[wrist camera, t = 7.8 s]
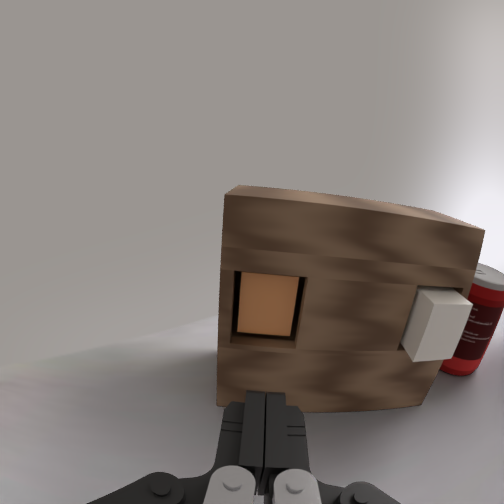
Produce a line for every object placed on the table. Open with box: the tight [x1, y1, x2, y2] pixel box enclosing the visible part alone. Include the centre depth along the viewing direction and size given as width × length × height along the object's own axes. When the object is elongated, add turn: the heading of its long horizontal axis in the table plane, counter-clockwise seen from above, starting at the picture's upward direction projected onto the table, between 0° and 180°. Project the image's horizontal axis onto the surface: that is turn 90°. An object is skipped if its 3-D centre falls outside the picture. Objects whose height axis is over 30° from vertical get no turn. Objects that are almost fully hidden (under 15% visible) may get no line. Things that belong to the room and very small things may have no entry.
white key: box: [400, 285, 473, 362], centre depth 18 cm, size 4×5×4 cm
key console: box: [217, 185, 485, 412], centre depth 22 cm, size 18×8×16 cm, turn 87°
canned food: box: [440, 263, 504, 376], centre depth 25 cm, size 8×8×11 cm
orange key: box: [237, 271, 299, 336], centre depth 21 cm, size 4×5×4 cm
